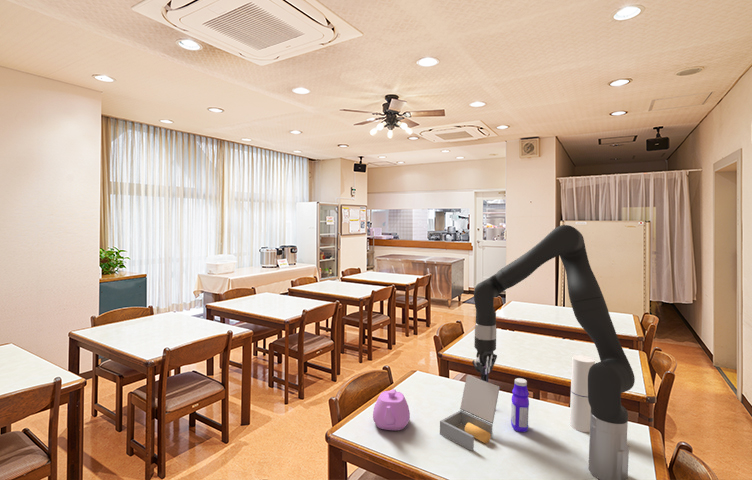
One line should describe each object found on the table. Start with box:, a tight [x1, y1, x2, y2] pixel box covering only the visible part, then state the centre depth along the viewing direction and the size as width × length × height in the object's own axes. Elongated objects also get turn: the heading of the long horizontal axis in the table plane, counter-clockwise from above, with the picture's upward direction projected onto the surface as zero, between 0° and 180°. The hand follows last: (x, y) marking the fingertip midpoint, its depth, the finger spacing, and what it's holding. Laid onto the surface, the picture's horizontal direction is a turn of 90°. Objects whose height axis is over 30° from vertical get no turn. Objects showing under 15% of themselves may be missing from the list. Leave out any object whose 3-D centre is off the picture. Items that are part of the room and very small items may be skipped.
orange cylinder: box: [464, 423, 492, 444], centre depth 128 cm, size 8×4×4 cm, turn 39°
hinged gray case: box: [439, 409, 493, 452], centre depth 129 cm, size 13×12×4 cm
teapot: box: [372, 388, 411, 431], centre depth 135 cm, size 20×13×12 cm, turn 172°
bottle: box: [510, 377, 530, 433], centre depth 134 cm, size 7×6×17 cm
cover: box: [459, 374, 501, 425], centre depth 134 cm, size 13×12×1 cm
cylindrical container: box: [569, 354, 596, 433], centre depth 135 cm, size 7×7×25 cm
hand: (484, 382), depth 136 cm, fingers closed
